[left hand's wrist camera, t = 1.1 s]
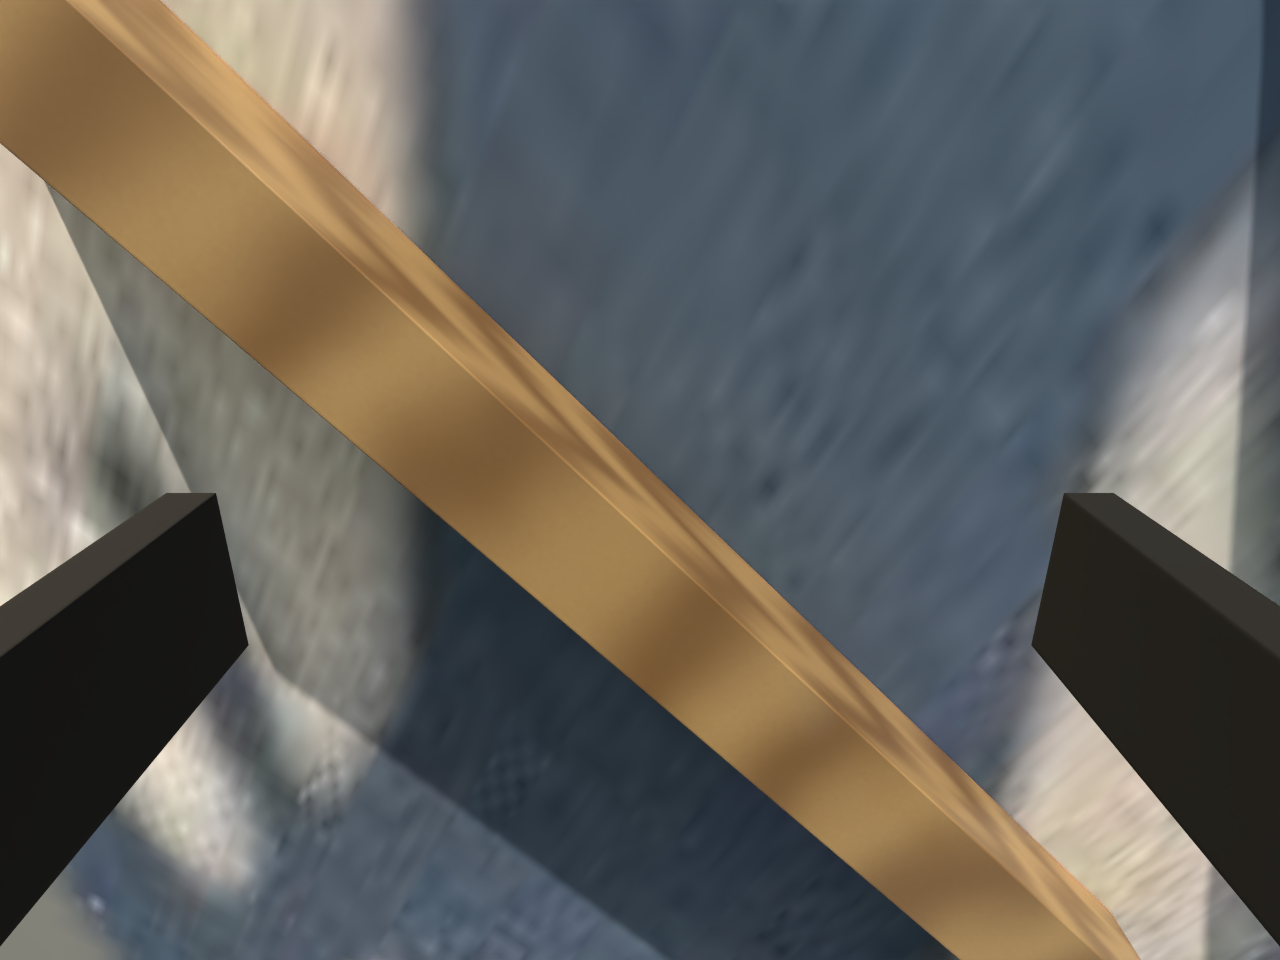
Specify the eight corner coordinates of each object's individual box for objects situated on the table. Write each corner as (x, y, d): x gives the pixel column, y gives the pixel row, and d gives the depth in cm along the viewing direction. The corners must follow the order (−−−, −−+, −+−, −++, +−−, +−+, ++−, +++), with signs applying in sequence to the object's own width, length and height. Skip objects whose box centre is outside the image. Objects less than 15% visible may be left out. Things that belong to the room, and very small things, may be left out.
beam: (-56, -27, 29) (-271, -86, 22) (12, -143, 28) (-194, -244, 21) (1040, 954, 48) (1106, 1085, 41) (1111, 912, 46) (1192, 1041, 40)
